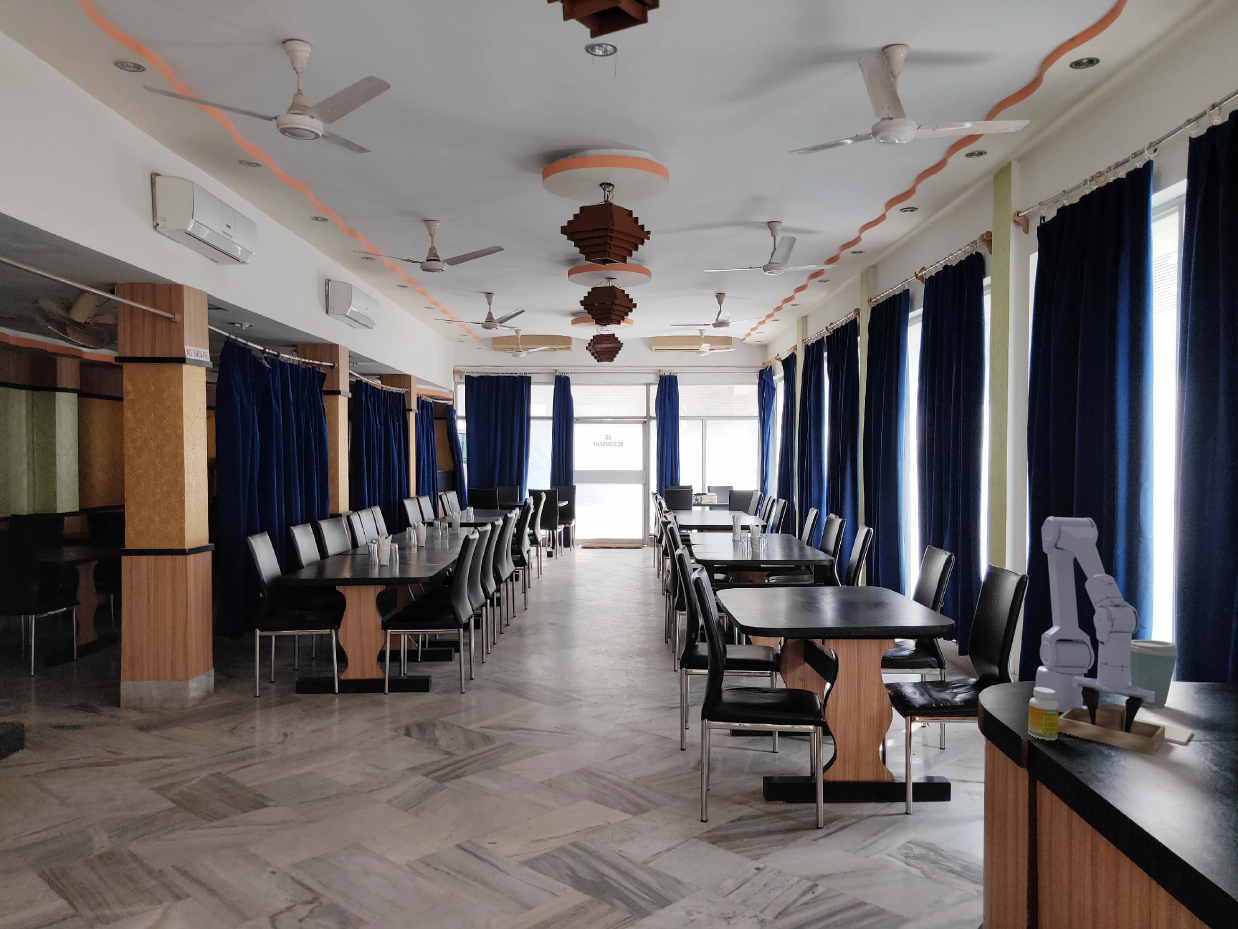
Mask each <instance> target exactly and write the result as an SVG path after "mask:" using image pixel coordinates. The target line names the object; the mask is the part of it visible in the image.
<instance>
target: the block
mask: <svg viewBox="0 0 1238 929" xmlns="http://www.w3.org/2000/svg"><path fill="white" fill-rule="evenodd" d="M1125 722H1126V705H1123V704H1118V703H1114V702H1110V701H1105V702H1103V703H1102V704H1101V705H1100V706H1098V709H1097V710H1096V723H1095V725H1096V726H1100V727H1104V728H1109V729H1113V730H1117V731H1122V732H1125Z"/></svg>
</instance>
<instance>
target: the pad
mask: <svg viewBox="0 0 1238 929" xmlns="http://www.w3.org/2000/svg"><path fill="white" fill-rule="evenodd" d="M1136 720H1137V721H1142V722H1146V723H1151V724H1156V725H1160V726H1165V741H1164V742H1169V743H1174V744H1179V745H1182V746H1186V744H1188V743H1187V742H1188V741H1189V740H1190V738H1191V737H1192V735H1193V733H1194V730H1192V729H1188V728H1184V727H1178V726H1173V725H1169V724H1164V723H1159V722H1155V721H1151V720H1146V719H1142V718H1137V719H1136ZM1188 739H1189V740H1188Z"/></svg>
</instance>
